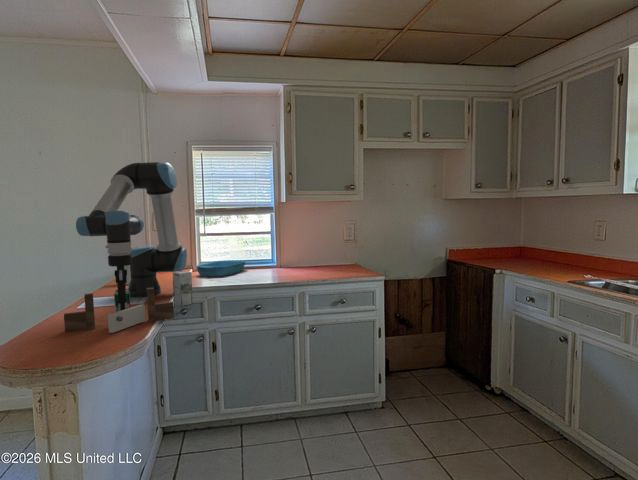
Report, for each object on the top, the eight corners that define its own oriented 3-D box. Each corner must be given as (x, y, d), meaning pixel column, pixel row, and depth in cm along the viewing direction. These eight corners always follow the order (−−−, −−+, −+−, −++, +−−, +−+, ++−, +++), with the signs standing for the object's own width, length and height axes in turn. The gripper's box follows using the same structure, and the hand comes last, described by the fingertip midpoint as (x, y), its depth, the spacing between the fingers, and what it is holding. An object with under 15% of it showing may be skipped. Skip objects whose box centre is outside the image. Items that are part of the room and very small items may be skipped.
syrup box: (185, 302, 177) (183, 270, 176) (193, 304, 174) (191, 271, 172) (173, 305, 173) (172, 272, 172) (181, 307, 169) (179, 273, 168)
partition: (66, 330, 139) (63, 295, 138) (173, 316, 154) (171, 285, 153) (64, 332, 136) (62, 297, 135) (174, 318, 151) (172, 286, 150)
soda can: (116, 322, 146) (114, 289, 145) (131, 320, 148) (129, 288, 147) (115, 326, 141) (113, 292, 140) (131, 324, 143) (129, 291, 142)
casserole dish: (222, 269, 281) (222, 259, 281) (251, 270, 274) (250, 259, 273) (189, 278, 246) (189, 266, 246) (221, 279, 239) (221, 267, 239)
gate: (141, 320, 148) (141, 304, 148) (148, 321, 147) (147, 304, 147) (108, 332, 134) (107, 314, 133) (115, 333, 133) (114, 315, 132)
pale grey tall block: (121, 284, 226) (119, 246, 224) (129, 282, 232) (127, 246, 230) (131, 285, 224) (129, 247, 222) (139, 283, 229) (137, 246, 228)
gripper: (108, 252, 149) (112, 313, 151) (106, 257, 133) (110, 326, 135) (131, 250, 152) (134, 311, 154) (131, 256, 136) (135, 323, 138)
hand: (123, 318), depth 145 cm, fingers closed on soda can, 5 cm apart
